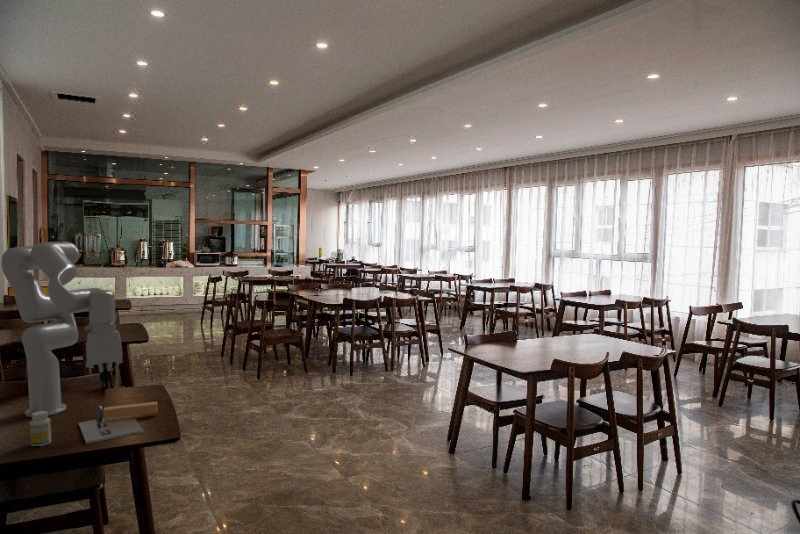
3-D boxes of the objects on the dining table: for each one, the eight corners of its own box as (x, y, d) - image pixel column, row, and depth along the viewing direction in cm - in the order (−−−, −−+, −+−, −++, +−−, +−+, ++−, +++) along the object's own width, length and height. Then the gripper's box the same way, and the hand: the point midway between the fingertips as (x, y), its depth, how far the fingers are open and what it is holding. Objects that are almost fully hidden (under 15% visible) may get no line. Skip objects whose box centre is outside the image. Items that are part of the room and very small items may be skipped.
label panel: (78, 425, 182) (77, 409, 181) (131, 415, 191) (130, 399, 191) (86, 444, 166) (85, 426, 165) (143, 432, 175) (142, 415, 175)
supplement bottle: (44, 447, 164) (42, 416, 163) (26, 447, 164) (24, 416, 163) (55, 440, 169) (53, 410, 168) (38, 440, 169) (36, 410, 169)
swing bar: (103, 418, 184) (103, 410, 183) (105, 415, 186) (104, 407, 186) (156, 412, 189) (156, 404, 189) (157, 409, 192) (157, 401, 192)
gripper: (78, 332, 170) (81, 389, 172) (130, 327, 180) (132, 381, 181) (75, 328, 176) (77, 384, 178) (125, 323, 185) (127, 376, 187)
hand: (105, 382), depth 179 cm, fingers closed
